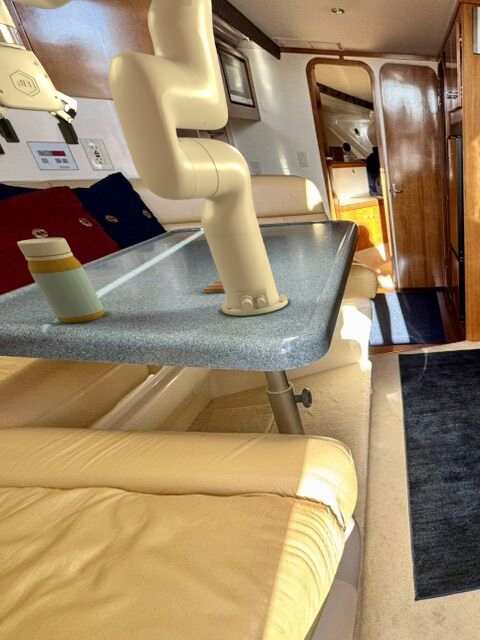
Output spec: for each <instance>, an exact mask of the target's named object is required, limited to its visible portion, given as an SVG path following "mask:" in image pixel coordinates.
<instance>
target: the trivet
mask: <svg viewBox="0 0 480 640" xmlns="http://www.w3.org/2000/svg"><path fill="white" fill-rule="evenodd" d="M203 292H204V294H217V293H219V294H220V293H225V291H224V288H223V285H222V282H221V280H217V281H214V282H213V283H211V284H210V285H207V286H206V287H204V288H203Z"/></svg>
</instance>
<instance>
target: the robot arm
mask: <svg viewBox="0 0 480 640" xmlns="http://www.w3.org/2000/svg"><path fill="white" fill-rule="evenodd" d="M72 1H73V0H9V2H14V3H18V4H21V5H26V6H29V7H34V8H37V9H41V10H58V9H60V8H62V7H64V6H66V5H67V4H69V3H71V2H72ZM212 9H213V8H212V0H151V3H150V6H149V9H148V12H147V13H148V14H147V26H148V32H149V35H150V38H151V42H152V46H153V52H154V55H152V54H147V53H142V52H138V51H122V52H119V53H117V54H116V55H114V56H113V57H112V58H111V60H110V62H109V66H108V76H107V77H108V86H109V90H110V95H111V97H112V101H113V105H114V108H115V111H116V114H117V117H118V120H119V123H120V126H121V129H122V133H123V135H124V138H125V142H126V145H127V148H128V151H129V154H130V157H131V161H132V163H133V166H134V168H135V171H136V173H137V175H138V176H139V178H140V180H141V182H142V184H144V186H145V187H146V188H147V189H148V190H149V191H150V192H151V193H152V194H154V195H156V196H157V197H159V198H162V199H165V200H169V201H183V200H195V199H202V202H201V207H200V223H201V228H202V230H203V233H204V236H205V239H206V243H207V245H208V247H209V250H210V254H211V257H212V259H213V262H214V265H215V267H216V270H217V273H218V274H217V275H218V276H219V280H220V281H221V282H222V285H223V288H224V291H225V292H224V294H225V296H226V299H227V300H226V301H224V302H223V303H222V304H221V305H220V308H221V310H222V312H223V313H224V314H226V315H229V316H255V315H256V316H257V315H262V314H266V313H271V312H275V311H277V310H280V309H282V308H284V307H286V306H287V305H288V303H289V300H288V297H287V296H286V295H285V294H282V293H278V289H277V285H276V281H275V278H274V275H273V271H272V268H271V265H270V261H269V257H268V254H267V250H266V247H265V243H264V239H263V235H262V232H261V228H260V225H259V222H258V218H257V214H256V209H255V205H254V197H253V192H252V178H251V172H250V168H249V164H248V162H247V161H246V158H245V157H244V156H243V155H242V153H241V152H240V151H239V150H238V149H237V148H236V147H234V146H232V145H231V144H229V143H227V142H225V141H222V140H218V139H214V138H205V137H204V138H203V137H178V135H177V129H184V130H185V129H186V130H200V131H201V130H204V131H214V130H219V129H222V128H224V127H225V126H226V125H227V123H228V120H229V109H228V103H227V102H228V101H227V97H226V92H225V87H224V82H223V77H222V71H221V67H220V62H219V56H218V52H217V48H216V44H215V43H216V42H215V35H214V28H213V11H212ZM64 105H65V109H64ZM77 107H78V102H77V100H75V99H74V98H72V97H70V96H68V95H66V94H64V93H62V92H60V91H58V90H57V89H56V87H55V86H54V84H53V82H52V80H51V78H50V77H49V75H48V73H47V72H46V70H45V68H44V67H43V65H42V63H41V62H40V60H39V59H38V57H37V56H36V55H35V53H34V52H33V51H31V50H28V49H27V48H26V46H25V44H24V42H23V39H22V38H21V35H20V33H19V31H18V29H17V26H16V25H15V22H14V20H13V18H12V16H11V14H10V11H9V9H8V7H7V5H6V2H5V1H4V0H0V137H1V138H3V139H4V140H5V142H6V143H7V144H19V143H20V142H21V140H20V138H19V136H18V133H16V130H15V128H14V127H13V125H12V122H11V121H10V119H8V118H6V117H5V114H6V112H7V111H8V110H19V111H33V112H47V113H48V114H50V115H51V116H52V117H53V118H54V119H56V120H57V121H58V122H57V124H56V125H57V127H58V129H59V131H60V133H61V136H62V138H63V140H64V142H65V144H67V145H75V146H76V145H77V146H78V145H80V142H79V137H78V135H77V133H76V129H75V128H74V126H73V123H74V120H75V118H76V116H77V115H78V113H77Z"/></svg>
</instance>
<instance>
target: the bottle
mask: <svg viewBox="0 0 480 640" xmlns="http://www.w3.org/2000/svg"><path fill="white" fill-rule="evenodd" d="M16 243H17V246H18V248H19V249H20V251H21V253H22V254H23V255H24V258H25V260H26V261H27V268H28V270H29V273H30V275H31V277H32V278H33V280H34V282H35V283H36V286H37V287H38V289H39V290H40V292H41V294H42V295H43V297H44V299H45V301H46V302H47V304H48V306H49V307H50V309H51V311H52V313H53V314H54V316H55V317H56V319H57V321H58V322H59V321H60V322H62V323H64V324H78V323H85V322H89V321H94V320H97V319H99V318H102V317H103V316H104V314H105V312H106V309H105V308H104V305H103V304H102V302H101V300H100V298H99V296H98V294H97V292H96V291H95V289H94V287H93V285H92V282H91V281H90V278H89V276H88V274H87V273H86V271H85V268H84V267H83V265H82V264H81V262H80V261H79V260H78V259H77V258H76V257H75V256H74V254H73V251H71V248H70V246H69V244H68V242H67V240H66V239H65V238H64V237H41V238H32V239H25V240H24V239H23V240H20V241H17V242H16Z"/></svg>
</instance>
